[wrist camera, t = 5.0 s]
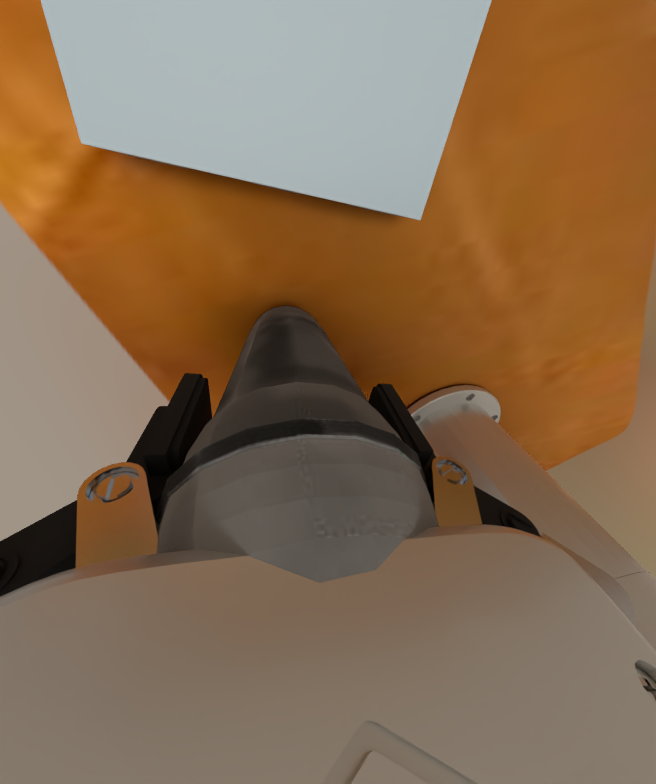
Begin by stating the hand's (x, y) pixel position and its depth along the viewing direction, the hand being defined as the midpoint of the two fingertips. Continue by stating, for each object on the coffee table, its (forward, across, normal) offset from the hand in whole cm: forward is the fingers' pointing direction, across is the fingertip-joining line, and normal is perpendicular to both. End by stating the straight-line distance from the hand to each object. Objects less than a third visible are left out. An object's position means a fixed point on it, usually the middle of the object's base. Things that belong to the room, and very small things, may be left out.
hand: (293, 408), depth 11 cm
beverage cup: (+7, 0, 0) cm, 7 cm away
